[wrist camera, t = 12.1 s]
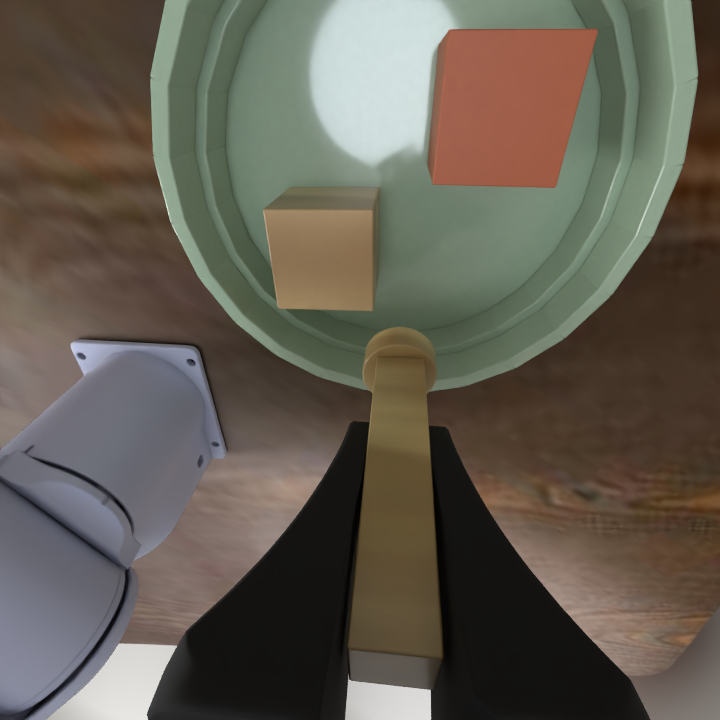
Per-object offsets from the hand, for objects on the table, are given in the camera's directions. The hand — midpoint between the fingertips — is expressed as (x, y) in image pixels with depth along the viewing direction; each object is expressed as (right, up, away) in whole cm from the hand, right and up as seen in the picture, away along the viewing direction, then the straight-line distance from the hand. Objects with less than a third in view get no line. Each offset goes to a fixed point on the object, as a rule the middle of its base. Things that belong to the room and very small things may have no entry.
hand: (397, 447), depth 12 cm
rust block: (+4, +12, +3) cm, 13 cm away
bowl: (+1, +11, +5) cm, 12 cm away
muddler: (0, +3, +3) cm, 4 cm away
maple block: (-2, +9, +6) cm, 11 cm away
